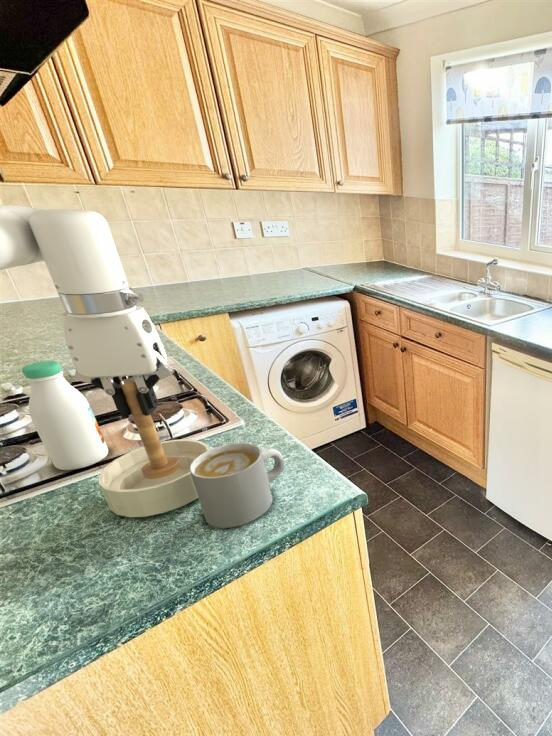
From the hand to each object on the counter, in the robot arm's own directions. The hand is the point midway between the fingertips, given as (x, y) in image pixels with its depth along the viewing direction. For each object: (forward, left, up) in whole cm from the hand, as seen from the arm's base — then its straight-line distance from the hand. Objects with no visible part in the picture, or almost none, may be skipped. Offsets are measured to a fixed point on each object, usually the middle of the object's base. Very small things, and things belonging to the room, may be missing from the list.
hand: (140, 411), depth 68 cm
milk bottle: (-23, -4, -16) cm, 29 cm away
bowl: (0, 0, -16) cm, 16 cm away
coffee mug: (+15, +6, -16) cm, 23 cm away
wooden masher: (0, 0, -12) cm, 12 cm away
